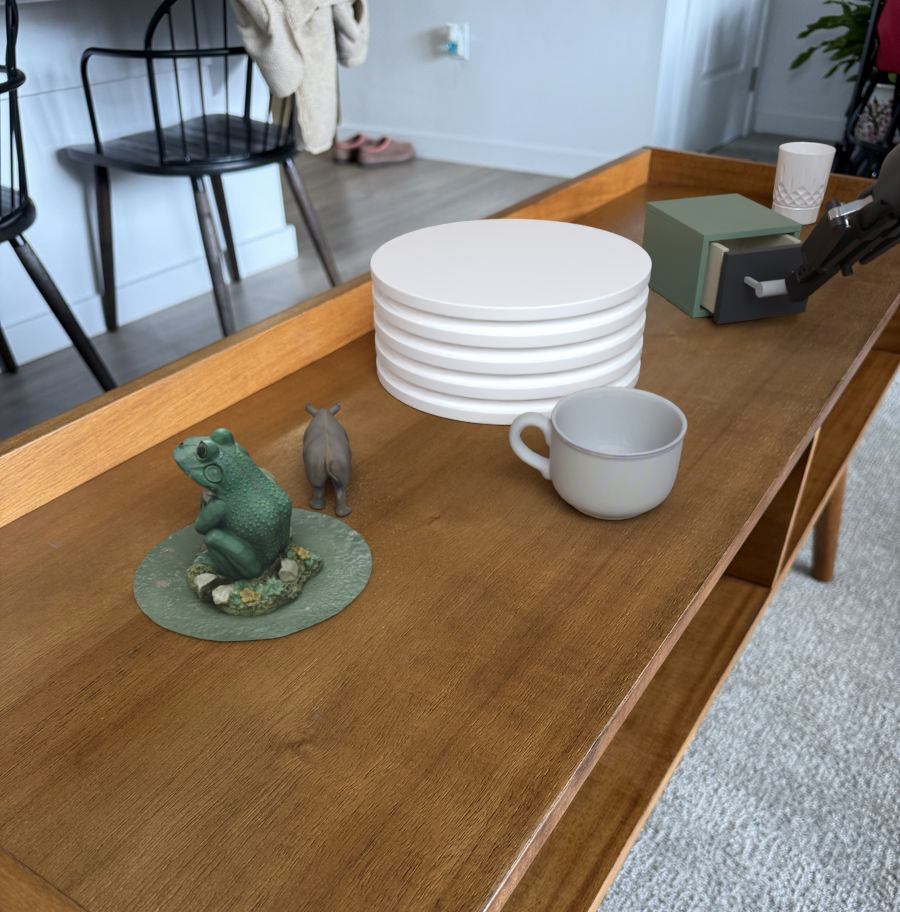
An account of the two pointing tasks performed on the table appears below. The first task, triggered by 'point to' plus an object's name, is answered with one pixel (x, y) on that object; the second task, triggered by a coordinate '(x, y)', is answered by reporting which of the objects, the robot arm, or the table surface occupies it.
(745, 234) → the cabinet
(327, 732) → the table surface
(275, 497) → the frog figurine
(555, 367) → the plate stack
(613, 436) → the teacup
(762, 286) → the drawer
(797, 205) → the white cup
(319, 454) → the rhino figurine
